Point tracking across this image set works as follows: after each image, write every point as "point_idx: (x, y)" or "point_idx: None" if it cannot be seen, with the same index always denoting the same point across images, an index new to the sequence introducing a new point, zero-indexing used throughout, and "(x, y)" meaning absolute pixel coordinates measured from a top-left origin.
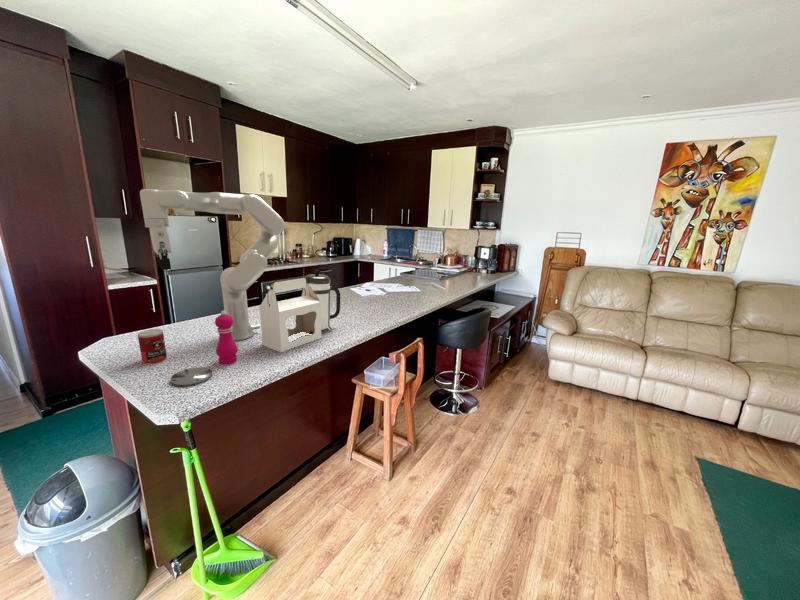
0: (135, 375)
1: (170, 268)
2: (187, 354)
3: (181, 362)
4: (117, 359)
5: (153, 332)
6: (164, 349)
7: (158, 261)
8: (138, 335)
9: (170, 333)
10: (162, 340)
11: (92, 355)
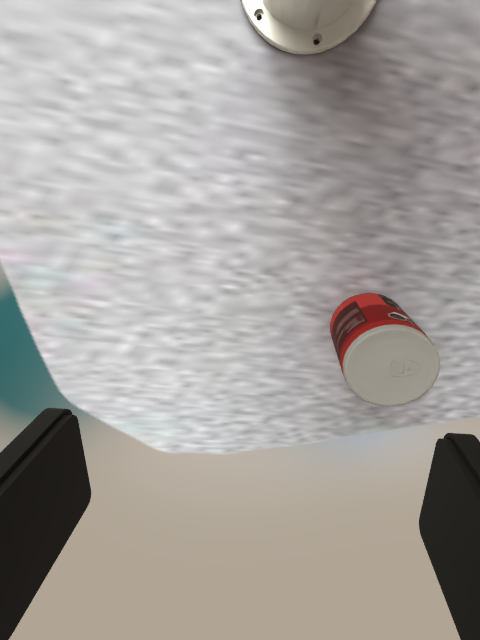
0: (460, 379)
1: (471, 441)
2: (392, 229)
3: (458, 260)
4: (286, 401)
5: (388, 357)
6: (398, 307)
7: (49, 554)
8: (397, 404)
9: (99, 241)
10: (414, 323)
11: (208, 443)
